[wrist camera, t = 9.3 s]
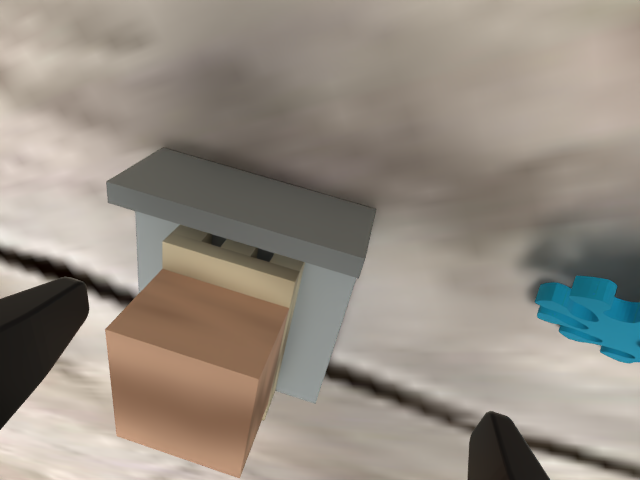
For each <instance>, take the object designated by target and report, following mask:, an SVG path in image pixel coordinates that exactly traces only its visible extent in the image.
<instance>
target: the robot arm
mask: <svg viewBox="0 0 640 480" xmlns="http://www.w3.org/2000/svg"><path fill="white" fill-rule="evenodd" d="M88 313H89V302H88V295H87V287H86V285H85V283H84V282H82V281H80V280H77V279H73V278H70V277H63V278H60V279H57V280H54V281H51V282H48V283H45V284H42V285H39V286H36V287H34V288H31V289H28V290H25V291H22V292H19V293H16V294H13V295H10V296H7V297H5V298H2V299H0V430H1V429H2V427H3V426H4V425H5V424H6V423H7V421H8V420H9V419H10V418H11V417H12V416H13V414H14V413H15V412H16V411H17V410H18V409H19V407H20V406H21V405H22V404H23V403H24V402H25V400H26V399H27V398H28V397H29V396H30V395H31V393H32V392H33V391H34V390H35V389H36V388H37V386H38V385H39V384H40V383H41V382H42V380H43V379H44V378H45V377H46V375H47V374H48V373H49V371H50V370H51V368H52V367H53V366H54V364H55V363H56V361H57V360H58V359H59V357H60V356H61V354H62V353H63V351H64V350H65V348H66V347H67V346H68V344H69V343H70V341H71V340H72V338H73V337H74V336H75V334H76V333H77V331H78V330H79V328H80V327H81V326H82V324H83V323H84V321H85V320H86V318H87V316H88ZM468 480H550V479H549V477H548V476H547V474H546V472H545V471H544V469H543V468H542V466H541V465H540V463H539V462H538V460H537V459H536V457H535V455H534V454H533V452H532V451H531V449H530V448H529V446H528V445H527V443H526V441H525V440H524V438H523V437H522V435H521V434H520V432H519V431H518V429H517V428H516V426H515V424H514V423H513V421H512V420H511V419H510V418H509V417H507V416H505V415H502V414H499V413H496V412H493V411H489V412H487V413H486V414H485V415H484V417H483V418H482V419H481V421H480V422H479V424H478V425H477V427H476V428H475V429H474V431H473V432H472V435H471V437H470V442H469V461H468Z"/></svg>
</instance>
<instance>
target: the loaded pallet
mask: <svg viewBox="0 0 640 480" xmlns="http://www.w3.org/2000/svg"><path fill="white" fill-rule="evenodd" d="M211 244H212V234H210V233H206V232H203V231H200V230H196V229H193V228H190V227H187V226H183V225H179V226H178V227H177V228H176V229H175V230H174V231H173V232H172V233H171V234H170V235H169V236H168V237H167V238H166V239H164V240H163V241H162V270H161V271H160V272H159V273H158V274H157V275H156V276H155V277H154V278H153V279H152V280H151V281H150V282H149V283H148V285H147V286H146V287H145V288H144V289H143V290H142V291H141V292H140V293H139V294H138V295H137V296H136V297H135V298H134V299H133V300H132V302H131V303H130V304H129V305H128V306H127V307H126V308H125V309H124V310H123V311H122V312H121V313H120V314H119V315H118V316H117V317H116V319H115V320H114V321H113V322H112V323H111V324H110V325H109V326H108V327H107V328H106V329H105V332H106V341H107V350H108V360H109V369H110V378H111V387H112V397H113V406H114V415H115V425H116V434H117V436H118V437H121V438H124V439H127V440H130V441H133V442H136V443H139V444H141V445H144V446H147V447H150V448H153V449H156V450H159V451H162V452H165V453H168V454H171V455H173V456H176V457H179V458H182V459H185V460H188V461H191V462H194V463H197V464H200V465H202V466H205V467H208V468H211V469H214V470H217V471H220V472H223V473H226V474H229V475H232V476H234V477H237V478H240V476H241V473H242V471H243V468H244V466H245V463H246V460H247V458H248V455H249V452H250V450H251V447H252V444H253V442H254V439H255V437H256V434H257V431H258V429H259V426H260V423H261V421H262V420H263V421H264V420H265V417H266V414H267V412H268V409H269V406H270V403H271V401H272V398H273V395H274V393H275V389H276V385H277V381H278V377H279V372H280V368H281V364H282V359H283V355H284V351H285V347H286V342H287V338H288V334H289V329H290V325H291V321H292V316H293V312H294V308H295V304H296V299H297V295H298V291H299V286H300V282H301V278H302V274H303V269H304V265H305V262H302V261H299V260H296V259H292V258H289V257H286V256H282V255H279V254H276V253H274V255H273V257H272V259H271V260H270V262H267V261H264V260H261V259H257V253H258V248H256V247H253V246H249V245H246V244H243V243H239V242H236V241H233V240H230V239H226V241H225V242H224V243H223V244H222V246H221V247H218V246H215V245H211Z"/></svg>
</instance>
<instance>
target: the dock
mask: <svg viewBox="0 0 640 480" xmlns="http://www.w3.org/2000/svg"><path fill="white" fill-rule="evenodd" d="M106 184H107V196H108V203H110V204H114V205H117V206H120V207H124V208H127V209H130V210H134V211H135V213H136V237H137V261H138V284H139V293H140V292H141V291H142V290H143V289H144V288H145V287H146V286H147V285H148V283H149V282H150V281H151V280H152V279H153V278H154V277H155V276H156V275H157V274H158V273H159V272H160V271H161V270H162V241H163V240H164V239H166V238H167V237H168V236H169V235H170V234H171V233H172V232H173V231H174V230H175V229H176V228H177V227H178V226H179V225H183V226H187V227H190V228H193V229H196V230H200V231H203V232H206V233H210V234H212V244H211V245H215V246H218V247H221V246H222V244H223V243H224V242H225V241H226V239H230V240H233V241H236V242H239V243H243V244H246V245H249V246H253V247H256V248H258V253H257V259H261V260H264V261H267V262H270V260H271V259H272V257H273V255H274V253H276V254H279V255H282V256H286V257H289V258H292V259H296V260H299V261H302V262H305V265H304V269H303V274H302V278H301V282H300V286H299V291H298V295H297V299H296V304H295V308H294V312H293V316H292V321H291V325H290V329H289V334H288V338H287V342H286V347H285V351H284V355H283V359H282V364H281V368H280V372H279V377H278V381H277V385H276V389H275V391H278V392H281V393H284V394H287V395H290V396H293V397H296V398H299V399H302V400H305V401H308V402H311V403H316V400H317V397H318V394H319V391H320V388H321V385H322V382H323V379H324V376H325V373H326V370H327V367H328V363H329V360H330V357H331V354H332V351H333V348H334V345H335V342H336V339H337V336H338V333H339V330H340V327H341V324H342V321H343V317H344V314H345V311H346V308H347V305H348V302H349V299H350V296H351V293H352V290H353V287H354V284H355V281H356V278H359V276H360V273H361V270H362V267H363V264H364V261H365V257H366V253H367V248H368V244H369V239H370V235H371V230H372V226H373V221H374V217H375V212H376V209H374V208H370V207H367V206H363V205H360V204H356V203H353V202H349V201H346V200H342V199H339V198H336V197H332V196H329V195H325V194H322V193H318V192H315V191H311V190H308V189H304V188H301V187H297V186H294V185H291V184H287V183H284V182H280V181H277V180H273V179H270V178H266V177H263V176H259V175H256V174H253V173H249V172H246V171H242V170H239V169H235V168H232V167H228V166H225V165H221V164H218V163H215V162H211V161H208V160H204V159H201V158H197V157H194V156H190V155H187V154H183V153H180V152H177V151H173V150H170V149H166V148H161V149H160V150H158V151H156V152H155V153H153V154H151V155H150V156H148V157H146V158H145V159H143V160H141V161H140V162H138V163H136V164H135V165H133V166H131V167H130V168H128V169H126V170H125V171H123V172H121V173H120V174H118V175H117V176H115V177H113V178H112V179H110V180H108V181H107V182H106Z"/></svg>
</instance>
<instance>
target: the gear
mask: <svg viewBox="0 0 640 480" xmlns="http://www.w3.org/2000/svg"><path fill="white" fill-rule="evenodd" d="M616 290H617V285H616V284H615V283H614V282H612V281H611V280H608V279H603V278H597V277H589V276H576V277H575V280H574V283H573V286H572V289H571V288H569V287H568V286H565V285H563V284H560V283H555V282H551V283H544V284H541V285H540V288H539V291H538V294H537V297H536V299H535V303H537V304H538V305H540V307H539V310H538V313H537V317H538V318H539V319H542V320H544V321H547V322H550V323H554V324H559V325H560V328H559V332H560V333H561V334H562V335H564V336H565V337H567V338H568V339H571V340H575V341H578V342H586V343H593V344H598V345H602V346H601V349H600V352H601V353H603V354H604V355H606V356H608V357H611V358H613V359H615V360H617V361H620V362H624V363H633V362H640V302H629V301H625V300H621V299H618V298H616V297H614V296H615V293H616Z"/></svg>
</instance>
